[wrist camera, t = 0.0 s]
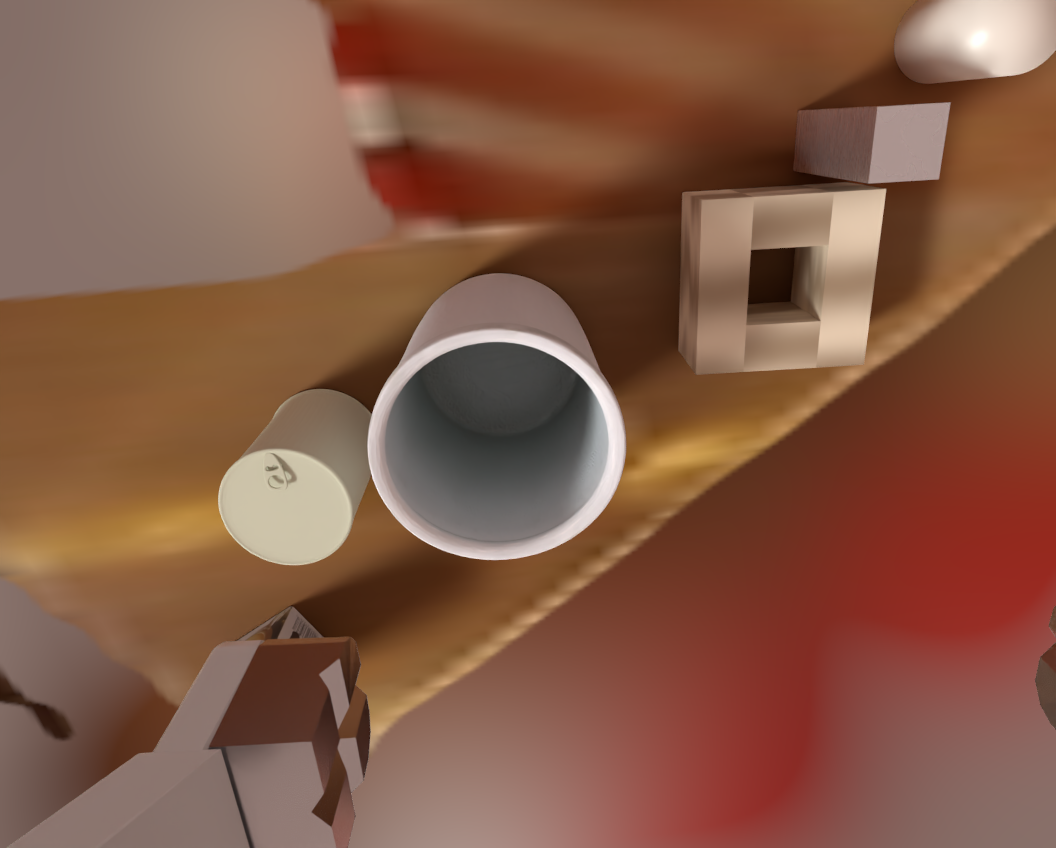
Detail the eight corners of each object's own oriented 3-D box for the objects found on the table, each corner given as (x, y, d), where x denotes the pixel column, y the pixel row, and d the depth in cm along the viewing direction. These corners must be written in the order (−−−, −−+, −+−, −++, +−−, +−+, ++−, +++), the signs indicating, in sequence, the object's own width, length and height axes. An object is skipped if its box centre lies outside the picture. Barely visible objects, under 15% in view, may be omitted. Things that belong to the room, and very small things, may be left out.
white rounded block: (900, -7, 48) (981, -35, 39) (984, -12, 48) (1083, -41, 39) (888, 86, 50) (963, 78, 42) (969, 81, 50) (1060, 72, 42)
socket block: (682, 192, 52) (701, 200, 47) (847, 182, 52) (886, 188, 47) (678, 350, 57) (696, 374, 51) (829, 341, 57) (863, 364, 51)
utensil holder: (620, 408, 59) (659, 516, 43) (453, 469, 61) (430, 594, 45) (557, 237, 54) (575, 286, 37) (376, 309, 55) (319, 385, 39)
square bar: (797, 110, 50) (877, 106, 39) (855, 107, 50) (950, 102, 39) (793, 170, 52) (868, 183, 41) (848, 167, 52) (938, 179, 41)
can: (367, 380, 58) (332, 441, 47) (393, 481, 61) (366, 560, 50) (256, 397, 58) (194, 461, 47) (288, 497, 62) (238, 578, 50)
